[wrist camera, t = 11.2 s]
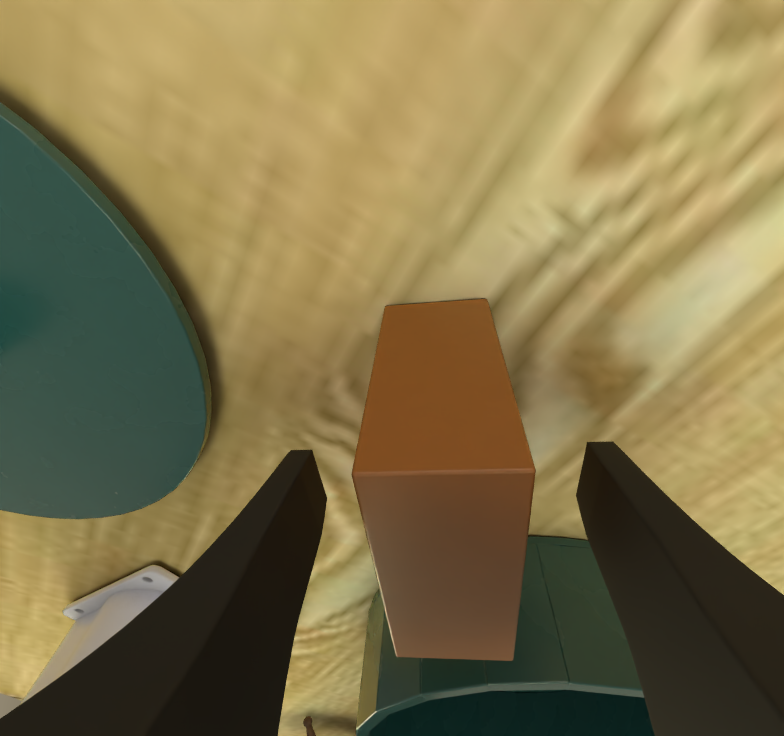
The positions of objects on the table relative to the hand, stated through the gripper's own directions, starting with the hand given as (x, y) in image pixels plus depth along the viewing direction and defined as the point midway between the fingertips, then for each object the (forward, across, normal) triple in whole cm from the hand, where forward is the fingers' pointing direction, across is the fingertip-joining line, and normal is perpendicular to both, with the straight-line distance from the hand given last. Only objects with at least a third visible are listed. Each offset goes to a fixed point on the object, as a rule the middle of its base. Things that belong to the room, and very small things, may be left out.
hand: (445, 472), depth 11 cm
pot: (+3, -4, +16) cm, 17 cm away
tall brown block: (+3, 0, 0) cm, 3 cm away
